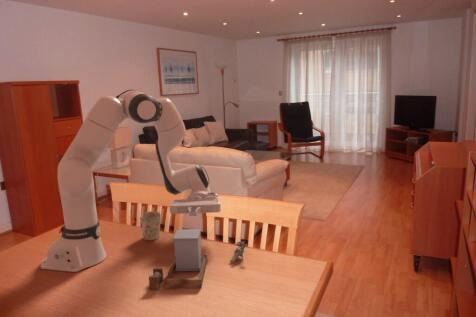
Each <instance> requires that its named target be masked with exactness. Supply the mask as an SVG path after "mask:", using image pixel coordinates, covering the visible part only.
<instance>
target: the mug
mask: <svg viewBox="0 0 476 317" xmlns="http://www.w3.org/2000/svg"><path fill="white" fill-rule="evenodd" d="M139 220H140V224H141V228H142V238H143V240H147V241H155V240H157V239H159V238H160V233H161V232H160V231H161V230H160V229H161V213H160V212H158V211H155V210H154V211H147V212H143V213H141V214H140V215H139Z"/></svg>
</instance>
